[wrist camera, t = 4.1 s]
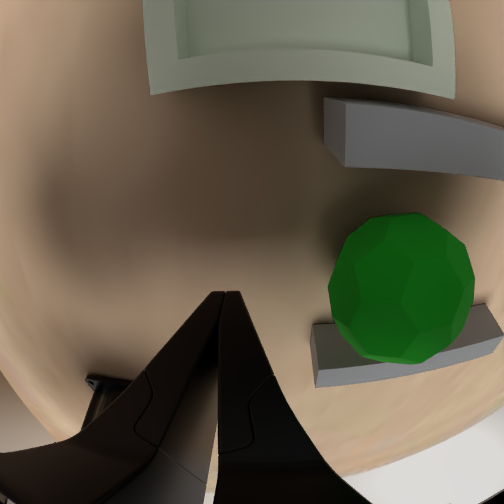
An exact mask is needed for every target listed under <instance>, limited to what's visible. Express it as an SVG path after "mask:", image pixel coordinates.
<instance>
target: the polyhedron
mask: <svg viewBox="0 0 504 504" xmlns="http://www.w3.org/2000/svg"><path fill="white" fill-rule="evenodd" d="M474 285H475V277H474V273H473V269H472V266H471V263H470V259H469V256H468V253H467V250H466V247H465V245H464V244H463V243H462V242H460V241H459V240H458V239H457V238H456V237H454V236H453V235H452V234H451V233H449V232H448V231H447V230H445V229H444V228H442V227H441V226H439V225H438V224H437V223H435V222H434V221H432V220H430V219H429V218H427V217H426V216H424V215H423V214H421V213H417V212H414V213H402V214H391V215H384V216H379V217H373V218H370V219H369V220H368V221H366V222H365V223H364V224H363V225H361V226H360V227H359V228H358V229H356V230H355V231H354V232H353V233H352V234H350V235H349V236H348V237H347V238H346V241H345V243H344V245H343V248H342V250H341V252H340V255H339V257H338V259H337V262H336V265H335V268H334V270H333V273H332V276H331V279H330V282H329V284H328V291H329V298H330V304H331V311H332V317H333V319H334V321H335V323H336V325H337V327H338V329H339V331H340V333H341V335H342V336H343V337H344V338H345V339H346V340H347V342H348V343H349V344H350V345H351V346H352V347H353V348H354V349H355V350H356V351H357V352H358V353H359V354H360V355H361V356H362V357H365V358H369V359H373V360H377V361H381V362H389V363H398V364H408V365H413V364H420V363H423V362H424V361H426V360H428V359H429V358H431V357H432V356H434V355H436V354H437V353H439V352H440V351H442V350H443V349H445V348H446V347H448V346H449V345H450V344H451V343H452V342H453V341H454V340H455V339H456V338H457V336H458V335H459V334H460V333H461V331H462V330H463V327H464V325H465V322H466V319H467V317H468V314H469V311H470V308H471V305H472V303H473V300H474Z"/></svg>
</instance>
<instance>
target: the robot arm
mask: <svg viewBox="0 0 504 504" xmlns="http://www.w3.org/2000/svg"><path fill="white" fill-rule="evenodd" d="M85 381H86V382H87V383H88V385H89V386H90V387H91V388H92V389H93V390H94V394H93V396H92V399H91V402H90V405H89V407H88V410H87V413H86V416H85V419H84V422H83V425H82V428H81V431H80V432H79V433H78V434H76V435H75V436H73V437H71V438H69V439H67V440H64V441H61V442H57V443H56V442H54V443H53V444H48V445H44V446H40V447H35V448H30V449H25V450H20V451H14V452H7V453H0V504H203V502H204V496H205V490H206V484H207V478H208V472H209V466H210V461H211V455H212V449H213V443H214V437H215V432H216V426H217V420H218V454H219V456H218V478H217V484H216V490H215V496H214V501H213V504H372V503H371V502H369V501H368V500H367V499H366V498H365V497H363V496H362V495H361V494H360V493H359V492H357V491H356V490H355V489H353V487H351V486H350V485H349V484H348V483H347V482H346V481H344V480H343V479H342V478H341V477H340V476H339V475H338V474H337V473H336V472H335V471H334V470H333V469H332V468H331V467H330V466H329V465H328V463H327V462H326V461H325V459H324V458H323V457H322V455H321V454H320V453H319V451H318V450H317V448H316V447H315V445H314V444H313V442H312V441H311V439H310V438H309V436H308V435H307V433H306V432H305V430H304V429H303V427H302V426H301V424H300V423H299V421H298V420H297V418H296V416H295V415H294V413H293V411H292V410H291V408H290V406H289V405H288V403H287V401H286V399H285V397H284V395H283V393H282V391H281V389H280V386H279V384H278V382H277V379H276V377H275V376H274V373H273V370H272V368H271V366H270V363H269V361H268V358H267V356H266V354H265V351H264V349H263V346H262V344H261V342H260V339H259V337H258V334H257V332H256V330H255V327H254V325H253V322H252V320H251V317H250V315H249V312H248V310H247V307H246V305H245V302H244V300H243V298H242V295H241V293H240V291H227V292H225V291H212V292H211V293H210V294H209V295H208V296H207V297H206V298H205V299H204V301H203V302H202V303H201V304H200V305H199V306H198V307H197V309H196V310H195V311H194V312H193V313H192V314H191V316H190V317H189V318H188V319H187V320H186V321H185V322H184V324H183V325H182V326H181V327H180V328H179V329H178V330H177V332H176V333H175V334H174V335H173V336H172V337H171V338H170V340H169V341H168V342H167V343H166V344H165V345H164V347H163V348H162V349H161V350H160V351H159V352H158V353H157V355H156V356H155V357H154V358H153V359H152V360H151V361H150V363H149V364H148V365H147V366H146V367H145V370H143V371H142V372H141V373H140V374H139V375H138V376H137V377H136V379H135V380H134V381H133V382H128V381H122V380H116V379H110V378H105V377H99V376H94V375H87V376H86V378H85ZM479 504H504V489H503V490H501V491H500V492H498V493H496V494H494V495H493V496H491V497H489V498H488V499H486V500H484V501H482V502H481V503H479Z"/></svg>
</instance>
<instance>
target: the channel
mask: <svg viewBox="0 0 504 504" xmlns="http://www.w3.org/2000/svg"><path fill="white" fill-rule="evenodd" d="M323 103H324V145H325V146H326V147H327V148H328V149H329V150H330V151H331V152H332V153H333V155H334V156H335V157H336V158H337V159H338V160H339V161H340V163H341V164H342V165H343V166H344V167H357V168H385V169H403V170H417V171H429V172H440V173H450V174H459V175H468V176H475V177H483V178H490V179H496V180H502V181H504V127H501V126H498V125H495V124H491V123H488V122H485V121H481V120H477V119H474V118H470V117H466V116H462V115H458V114H454V113H449V112H445V111H440V110H435V109H430V108H424V107H419V106H413V105H406V104H400V103H392V102H384V101H375V100H365V99H353V98H336V97H323ZM503 337H504V333H503V332H502V330H501V328H500V326H499V325H498V323H497V321H496V320H495V318H494V317H493V315H492V313H491V312H490V310H489V309H488V307H487V306H486V304H482V305H476V306H471V308H470V311H469V314H468V317H467V319H466V322H465V325H464V327H463V330H462V331H461V333H460V334H459V335H458V336H457V338H456V339H455V340H454V341H453V342H452V343H451V344H450V345H449V346H448V347H446V348H445V349H443V350H442V351H440V352H439V353H437V354H436V355H434V356H432V357H431V358H429V359H428V360H426V361H424V362H423V363H420V364H413V365H408V364H398V363H389V362H381V361H377V360H373V359H369V358H365V357H362V356H361V355H360V354H359V353H358V352H357V351H356V350H355V349H354V348H353V347H352V346H351V345H350V344H349V343H348V342H347V340H346V339H345V338H344V337H343V336H342V335H341V333H340V331H339V329H338V327H337V325H336V323H334V324H319V325H312V334H311V342H310V348H311V356H312V365H313V373H314V383H315V388H319V387H330V386H340V385H349V384H357V383H365V382H372V381H378V380H385V379H390V378H396V377H402V376H407V375H412V374H417V373H421V372H426V371H430V370H435V369H439V368H443V367H447V366H451V365H454V364H458V363H462V362H465V361H469V360H472V359H475V358H479V357H482V356H485V355H488V354H491V353H493V351H494V350H495V348H496V347H497V346H498V344H499V343H500V341H501V340H502V338H503Z"/></svg>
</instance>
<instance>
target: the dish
mask: <svg viewBox="0 0 504 504" xmlns="http://www.w3.org/2000/svg"><path fill="white" fill-rule="evenodd" d="M142 5H143V23H144V37H145V49H146V59H147V69H148V78H149V86H150V94H151V95H156V94H162V93H167V92H173V91H179V90H185V89H192V88H199V87H206V86H214V85H223V84H234V83H246V82H263V81H328V82H345V83H357V84H367V85H376V86H384V87H391V88H398V89H404V90H410V91H415V92H421V93H426V94H431V95H436V96H440V97H445V98H449V99H453V100H455V47H454V33H453V23H452V15H451V8H450V1H449V0H142Z"/></svg>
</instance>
